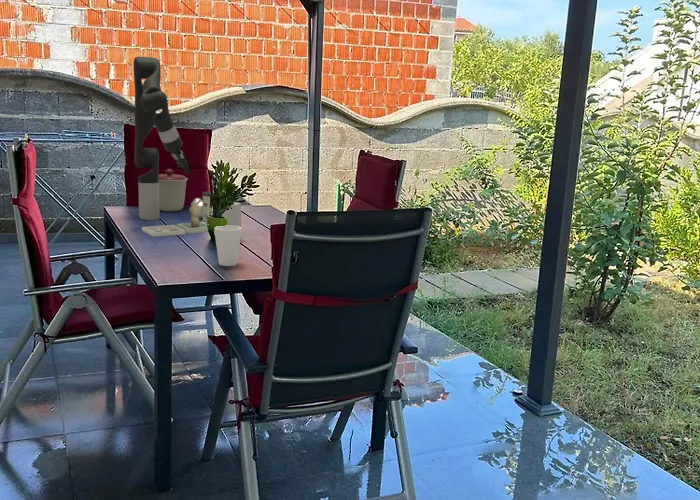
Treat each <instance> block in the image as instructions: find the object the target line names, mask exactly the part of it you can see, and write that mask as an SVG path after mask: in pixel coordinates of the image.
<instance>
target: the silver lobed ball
mask: <svg viewBox="0 0 700 500" xmlns="http://www.w3.org/2000/svg"><path fill="white" fill-rule="evenodd" d="M190 205H191V206H199V220H201V219H202V220H203V199H202V198H200V197H196V198H194V199H193V201H192V202H191V204H190ZM191 206H190V207H189V212H190V213H191Z"/></svg>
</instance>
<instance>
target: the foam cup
mask: <svg viewBox="0 0 700 500" xmlns="http://www.w3.org/2000/svg"><path fill="white" fill-rule="evenodd" d="M242 230H243V228H242V226H241V227H239V226H230V225H225V226H217V225H216V226H215V227H214V231H213V232H214V233H213V234H214V238H215V244H216V253H217V261H218V265H219V266H224V267H233V266H236V265H238V260H239V259H238V258H239V252H240V245H241V244H240V243H241V240H240V238H241V235H242V232H243V231H242ZM242 236H243V235H242Z"/></svg>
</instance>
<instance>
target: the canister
mask: <svg viewBox="0 0 700 500" xmlns="http://www.w3.org/2000/svg"><path fill="white" fill-rule="evenodd" d="M188 179H189V178H188V177H186V176H185V175H181V174H176V173H174V171H173V169H170V168H167V169H166V170H165V173H159V211H161V212H179V211H182V210H183V208H184V205H185V198H186V188H187V181H188Z"/></svg>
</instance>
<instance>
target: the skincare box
mask: <svg viewBox="0 0 700 500" xmlns="http://www.w3.org/2000/svg"><path fill="white" fill-rule="evenodd" d="M234 203H235V204H234V205H231V206H230V207H231V208H232V209H231V208H230V207H229V210H226V211H225V212H224V213H223V214H222V217H224V218H225V219H227V222H228V223H227V225H230V226H239V227H241V228H242V206H241V205H242V204H241V202H234ZM242 236H243V235H241V238H240V241H241V240H242V239H243V238H242Z"/></svg>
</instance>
